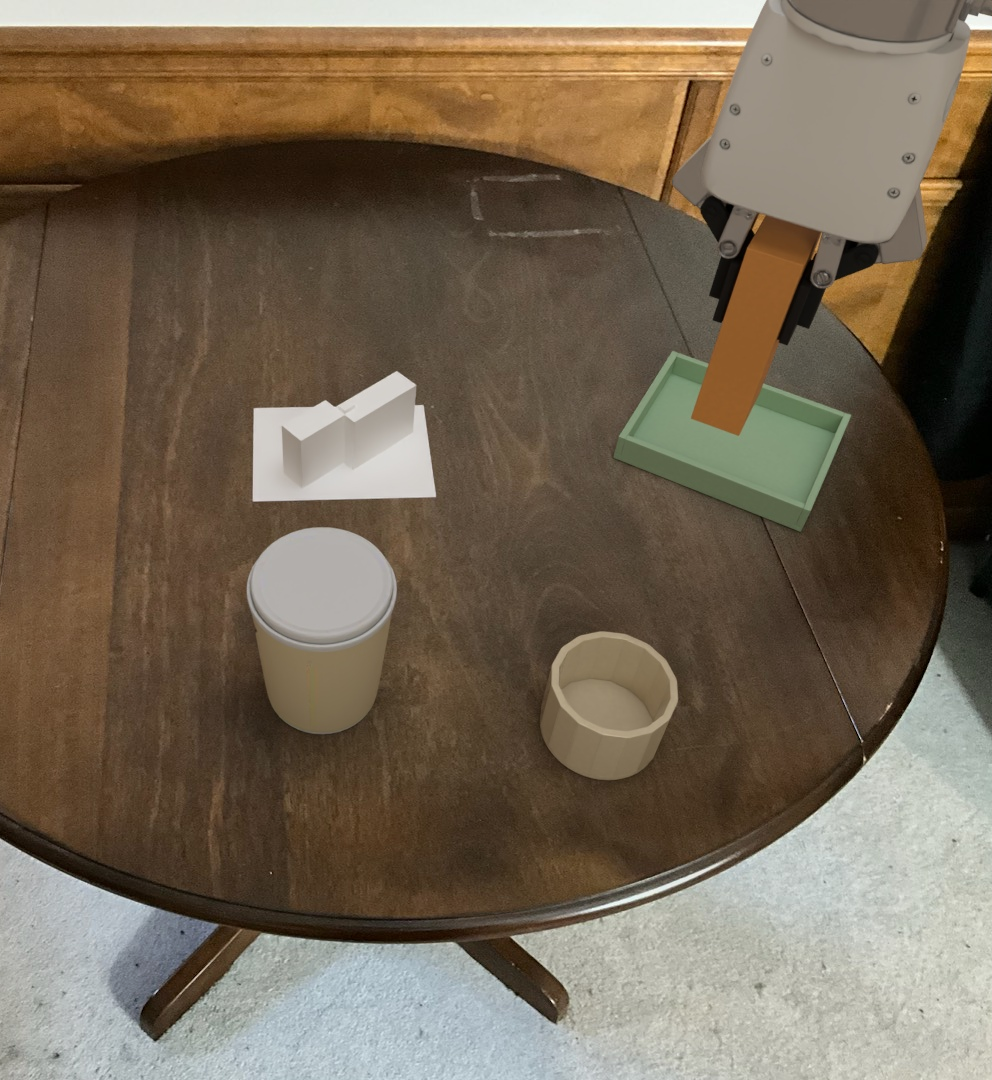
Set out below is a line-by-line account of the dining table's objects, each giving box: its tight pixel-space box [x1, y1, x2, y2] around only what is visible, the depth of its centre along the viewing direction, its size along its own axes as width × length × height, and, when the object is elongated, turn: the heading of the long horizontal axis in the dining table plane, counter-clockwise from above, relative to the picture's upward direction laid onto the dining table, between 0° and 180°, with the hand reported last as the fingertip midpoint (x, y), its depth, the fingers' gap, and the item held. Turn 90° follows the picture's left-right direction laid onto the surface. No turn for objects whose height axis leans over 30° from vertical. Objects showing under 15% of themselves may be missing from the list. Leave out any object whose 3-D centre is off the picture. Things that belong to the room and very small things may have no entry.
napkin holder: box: [252, 370, 437, 503], centre depth 91 cm, size 15×11×6 cm
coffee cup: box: [246, 526, 398, 735], centre depth 73 cm, size 9×9×12 cm
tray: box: [612, 350, 852, 533], centre depth 95 cm, size 16×13×2 cm
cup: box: [539, 630, 679, 781], centre depth 74 cm, size 8×8×6 cm
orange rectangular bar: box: [691, 215, 822, 436], centre depth 63 cm, size 3×4×12 cm, turn 152°
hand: (757, 317), depth 63 cm, fingers closed on orange rectangular bar, 3 cm apart
